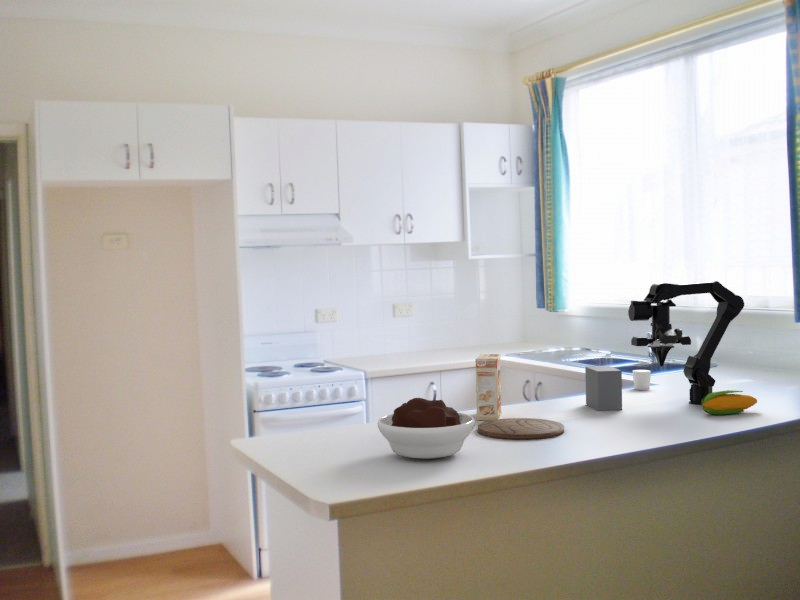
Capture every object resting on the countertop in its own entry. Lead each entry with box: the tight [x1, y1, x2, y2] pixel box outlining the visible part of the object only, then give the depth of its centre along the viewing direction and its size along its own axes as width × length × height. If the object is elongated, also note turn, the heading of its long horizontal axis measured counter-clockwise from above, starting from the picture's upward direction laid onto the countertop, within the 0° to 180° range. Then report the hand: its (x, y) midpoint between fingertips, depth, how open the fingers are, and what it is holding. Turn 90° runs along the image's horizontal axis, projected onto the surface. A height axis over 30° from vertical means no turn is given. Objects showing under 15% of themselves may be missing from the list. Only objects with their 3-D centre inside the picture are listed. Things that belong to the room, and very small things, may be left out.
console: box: [584, 365, 623, 412], centre depth 277 cm, size 8×13×13 cm, turn 5°
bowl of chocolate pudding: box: [377, 397, 476, 460], centre depth 213 cm, size 25×25×15 cm
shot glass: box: [632, 369, 652, 391], centre depth 315 cm, size 7×7×7 cm
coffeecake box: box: [475, 353, 502, 421], centre depth 266 cm, size 15×7×20 cm, turn 168°
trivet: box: [477, 417, 565, 441], centre depth 241 cm, size 25×25×2 cm
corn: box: [701, 389, 758, 416], centre depth 261 cm, size 7×8×20 cm
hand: (661, 366), depth 278 cm, fingers closed
